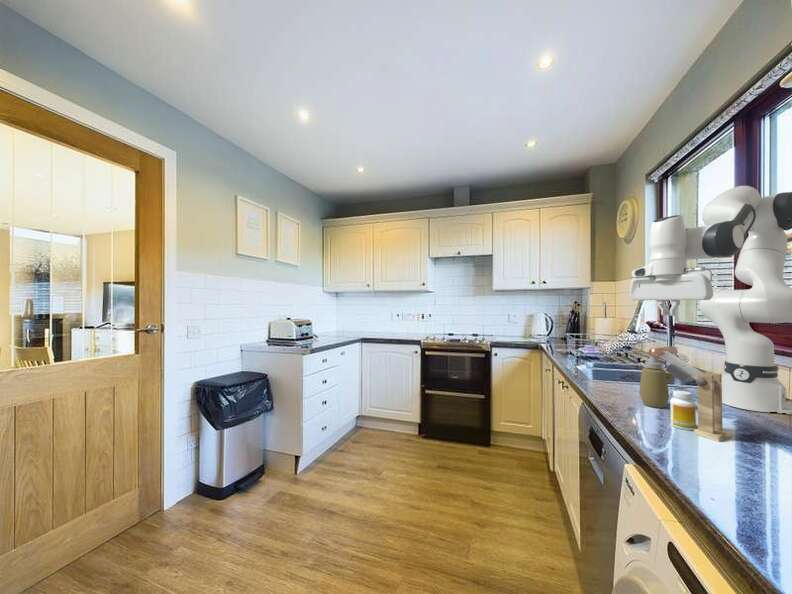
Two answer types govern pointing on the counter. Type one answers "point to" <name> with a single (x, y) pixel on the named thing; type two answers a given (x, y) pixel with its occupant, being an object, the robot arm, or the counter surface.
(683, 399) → the supplement bottle
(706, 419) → the press stand
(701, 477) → the counter surface
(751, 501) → the counter surface
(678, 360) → the lever
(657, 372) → the squeeze bottle
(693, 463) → the counter surface
